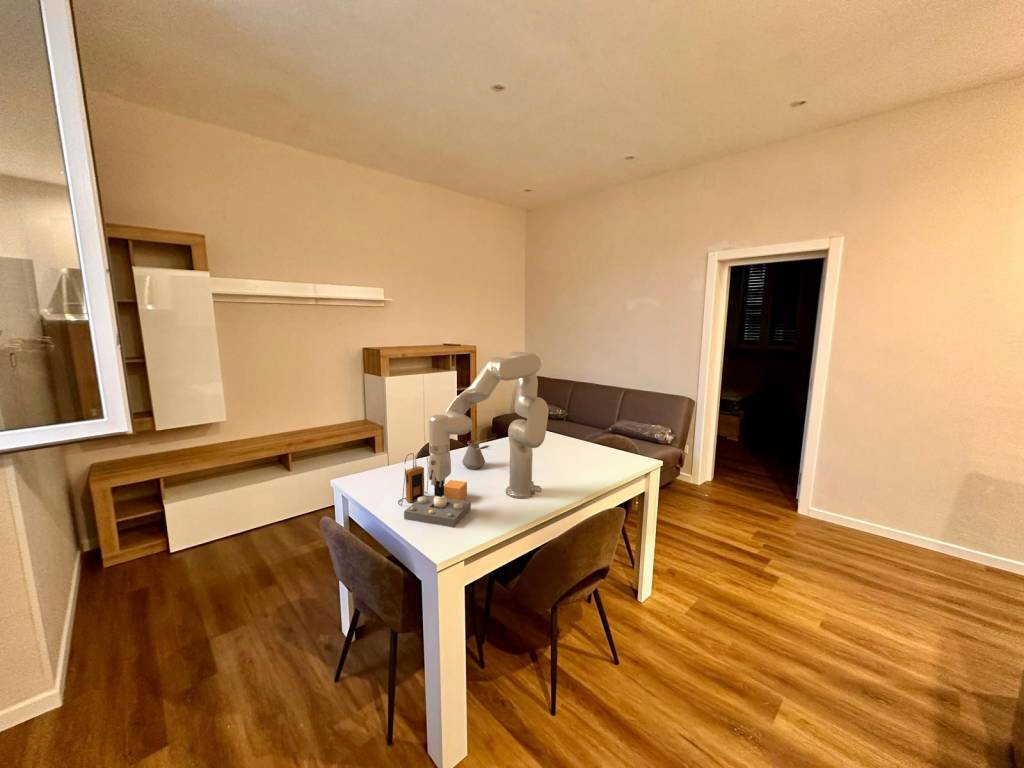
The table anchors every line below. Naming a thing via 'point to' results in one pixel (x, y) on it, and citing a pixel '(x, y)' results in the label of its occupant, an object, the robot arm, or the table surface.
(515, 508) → the table surface
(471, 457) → the coffee pot
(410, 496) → the multimeter
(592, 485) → the table surface
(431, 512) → the grey flat block
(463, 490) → the orange block
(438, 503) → the button
